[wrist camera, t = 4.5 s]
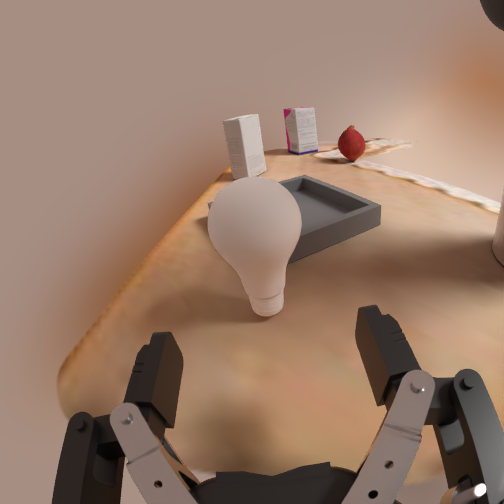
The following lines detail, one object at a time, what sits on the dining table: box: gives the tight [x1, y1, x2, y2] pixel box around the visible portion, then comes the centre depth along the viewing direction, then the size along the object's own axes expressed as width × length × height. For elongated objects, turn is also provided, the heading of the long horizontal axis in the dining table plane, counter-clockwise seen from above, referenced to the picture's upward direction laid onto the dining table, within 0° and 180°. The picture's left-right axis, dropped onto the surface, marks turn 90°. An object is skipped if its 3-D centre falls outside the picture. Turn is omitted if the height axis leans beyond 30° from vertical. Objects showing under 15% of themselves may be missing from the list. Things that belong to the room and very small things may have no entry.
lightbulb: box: [208, 176, 302, 316], centre depth 20 cm, size 6×6×11 cm
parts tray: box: [208, 175, 381, 264], centre depth 36 cm, size 16×16×2 cm
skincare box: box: [223, 114, 266, 180], centre depth 53 cm, size 6×4×12 cm
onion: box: [338, 125, 365, 161], centre depth 55 cm, size 6×6×8 cm
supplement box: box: [284, 107, 318, 155], centre depth 66 cm, size 6×6×12 cm
